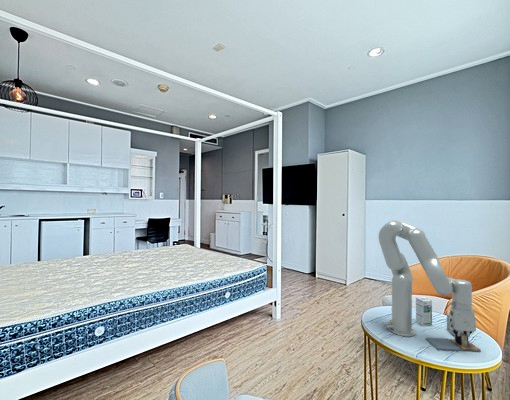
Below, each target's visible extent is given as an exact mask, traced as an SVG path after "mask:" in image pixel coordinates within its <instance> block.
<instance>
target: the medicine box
mask: <svg viewBox="0 0 510 400" xmlns="http://www.w3.org/2000/svg"><path fill="white" fill-rule="evenodd" d="M448 326H449V314H446V330H447V331H448V332H449V333H450V334H451V335H452V336H453V337H455V334H454V333H453V332H452V331H450V330H449V329H448ZM453 329H454V328H453ZM460 332H462V333H463V331H460Z"/></svg>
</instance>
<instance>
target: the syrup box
mask: <svg viewBox="0 0 510 400" xmlns="http://www.w3.org/2000/svg"><path fill="white" fill-rule="evenodd" d="M432 301H433V300H432V299H430V298H428V297H426V296H424V297H423V296H422V297H421V296H420V297H415V322H416V323H418V324H419V325H421V326H423V327H424V326H429V327H430V326H433V303H432Z"/></svg>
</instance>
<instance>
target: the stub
mask: <svg viewBox="0 0 510 400" xmlns="http://www.w3.org/2000/svg"><path fill="white" fill-rule="evenodd" d="M460 336H461V345H459V344H458V343H457V342H456V341H455V338H454V339H452V338H449V340H450V341H452V342H453V343H454V344H456V345H457V346H458V347H460V348H461V349H462V352H463V351H464V352H482V350H481V348H479V347H478V346H476V345H475V344H473V343H472V342H470V341H469V340H468V345H467V335H465V334H464V333H462V332H460Z"/></svg>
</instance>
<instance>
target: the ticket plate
mask: <svg viewBox="0 0 510 400" xmlns="http://www.w3.org/2000/svg"><path fill="white" fill-rule="evenodd" d="M425 341H427V342H428V344H430V345H431V346H432V347H433V348H434V349H436V350H437V351H438V352H442V351H443V352H444V351H445V352H459V353H462V352H463V350H462V349H461V348H460V347H458V346H457V345H456V344H454V343H453V342H452V341H450V338H443V337H442V338H441V337H425Z"/></svg>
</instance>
